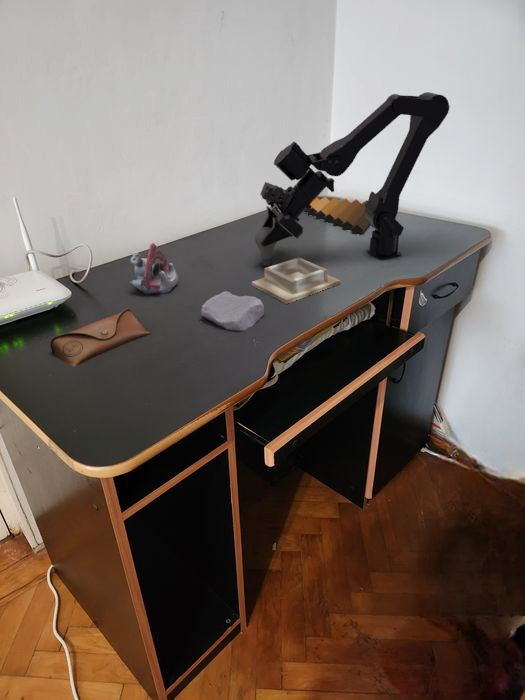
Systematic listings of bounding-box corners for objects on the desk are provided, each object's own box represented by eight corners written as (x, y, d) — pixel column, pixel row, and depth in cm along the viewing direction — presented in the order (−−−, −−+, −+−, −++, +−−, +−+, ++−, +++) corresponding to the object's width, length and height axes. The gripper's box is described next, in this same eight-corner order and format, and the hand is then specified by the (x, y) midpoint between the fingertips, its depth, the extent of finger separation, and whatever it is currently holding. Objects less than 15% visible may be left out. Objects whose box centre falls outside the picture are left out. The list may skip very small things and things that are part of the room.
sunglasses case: (72, 368, 97) (56, 335, 96) (61, 372, 103) (46, 341, 102) (154, 332, 108) (140, 301, 107) (140, 337, 113) (127, 308, 113)
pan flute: (362, 237, 153) (382, 211, 172) (363, 225, 151) (383, 201, 170) (282, 228, 162) (309, 205, 181) (281, 217, 160) (309, 195, 179)
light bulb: (279, 262, 137) (278, 224, 132) (276, 270, 133) (275, 231, 128) (258, 261, 138) (256, 223, 133) (254, 269, 134) (252, 231, 128)
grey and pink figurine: (174, 290, 119) (138, 247, 116) (143, 313, 125) (107, 273, 121) (192, 270, 128) (159, 231, 125) (163, 293, 134) (130, 255, 131)
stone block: (244, 341, 107) (268, 312, 113) (239, 323, 104) (264, 294, 110) (197, 330, 113) (223, 303, 119) (191, 312, 110) (218, 285, 116)
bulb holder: (304, 268, 133) (304, 252, 131) (340, 284, 124) (340, 268, 122) (252, 285, 125) (251, 269, 123) (286, 304, 116) (286, 287, 114)
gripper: (273, 162, 132) (232, 210, 136) (288, 179, 116) (241, 233, 120) (304, 191, 137) (263, 236, 141) (322, 212, 121) (276, 262, 125)
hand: (260, 241), depth 132 cm, fingers closed on light bulb, 5 cm apart
